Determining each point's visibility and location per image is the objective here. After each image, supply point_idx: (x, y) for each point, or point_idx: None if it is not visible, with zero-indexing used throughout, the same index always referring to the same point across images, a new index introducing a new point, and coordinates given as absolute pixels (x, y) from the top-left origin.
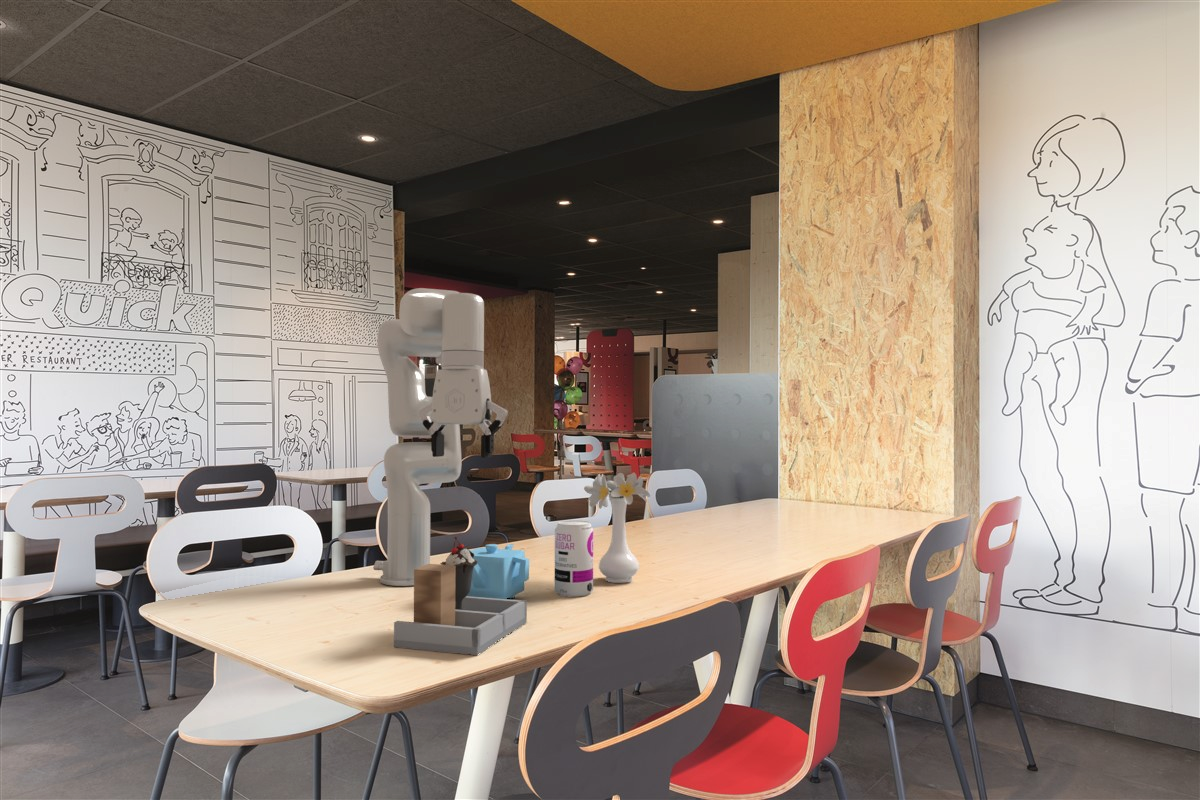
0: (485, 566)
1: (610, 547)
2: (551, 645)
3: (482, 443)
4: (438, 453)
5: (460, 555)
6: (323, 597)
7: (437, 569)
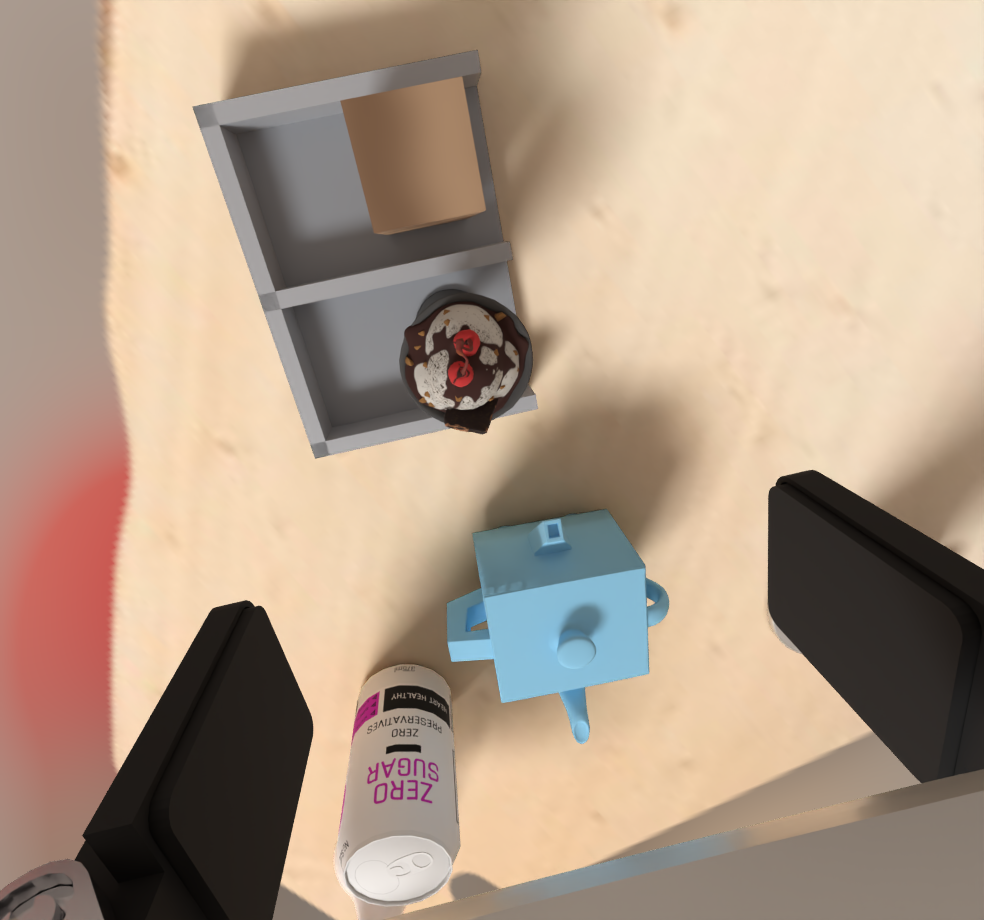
0: (542, 568)
1: None
2: (128, 305)
3: (175, 709)
4: (783, 534)
5: (440, 344)
6: (942, 371)
7: (376, 123)
